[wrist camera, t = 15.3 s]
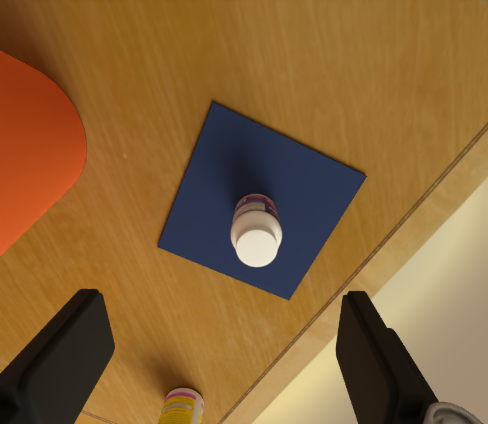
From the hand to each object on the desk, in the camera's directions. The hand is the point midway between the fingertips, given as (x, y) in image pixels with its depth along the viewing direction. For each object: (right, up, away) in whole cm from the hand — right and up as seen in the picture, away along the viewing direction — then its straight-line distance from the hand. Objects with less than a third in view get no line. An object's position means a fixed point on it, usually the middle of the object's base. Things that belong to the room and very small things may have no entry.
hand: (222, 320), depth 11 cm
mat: (+2, +4, +25) cm, 25 cm away
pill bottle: (+2, +4, +25) cm, 25 cm away
